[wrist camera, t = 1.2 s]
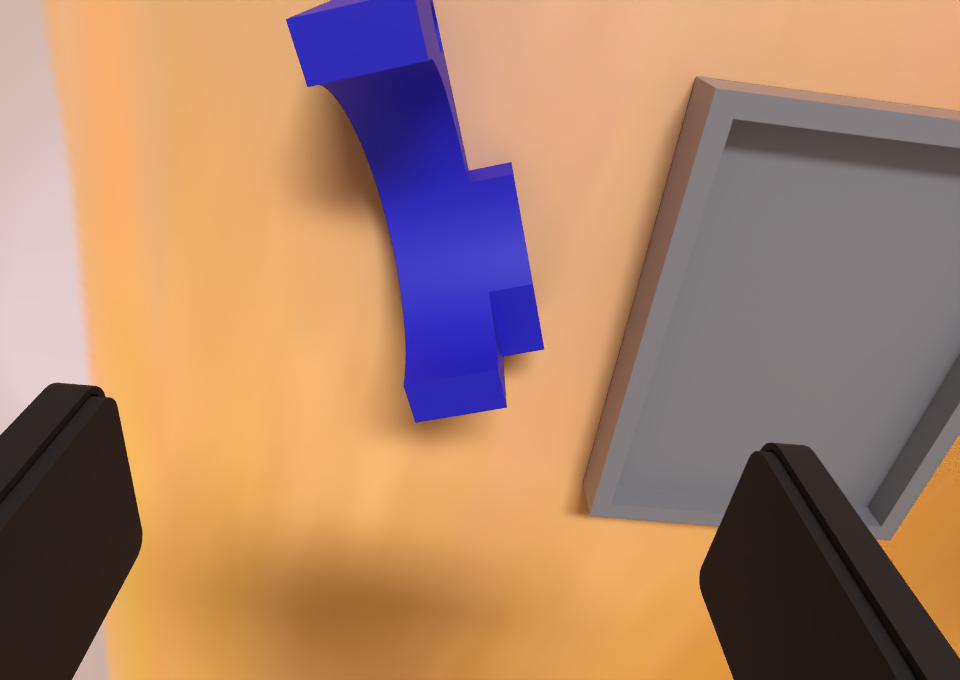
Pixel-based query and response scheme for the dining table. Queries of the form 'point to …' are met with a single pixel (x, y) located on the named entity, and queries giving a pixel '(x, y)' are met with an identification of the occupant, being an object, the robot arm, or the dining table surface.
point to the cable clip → (429, 201)
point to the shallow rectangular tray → (791, 307)
